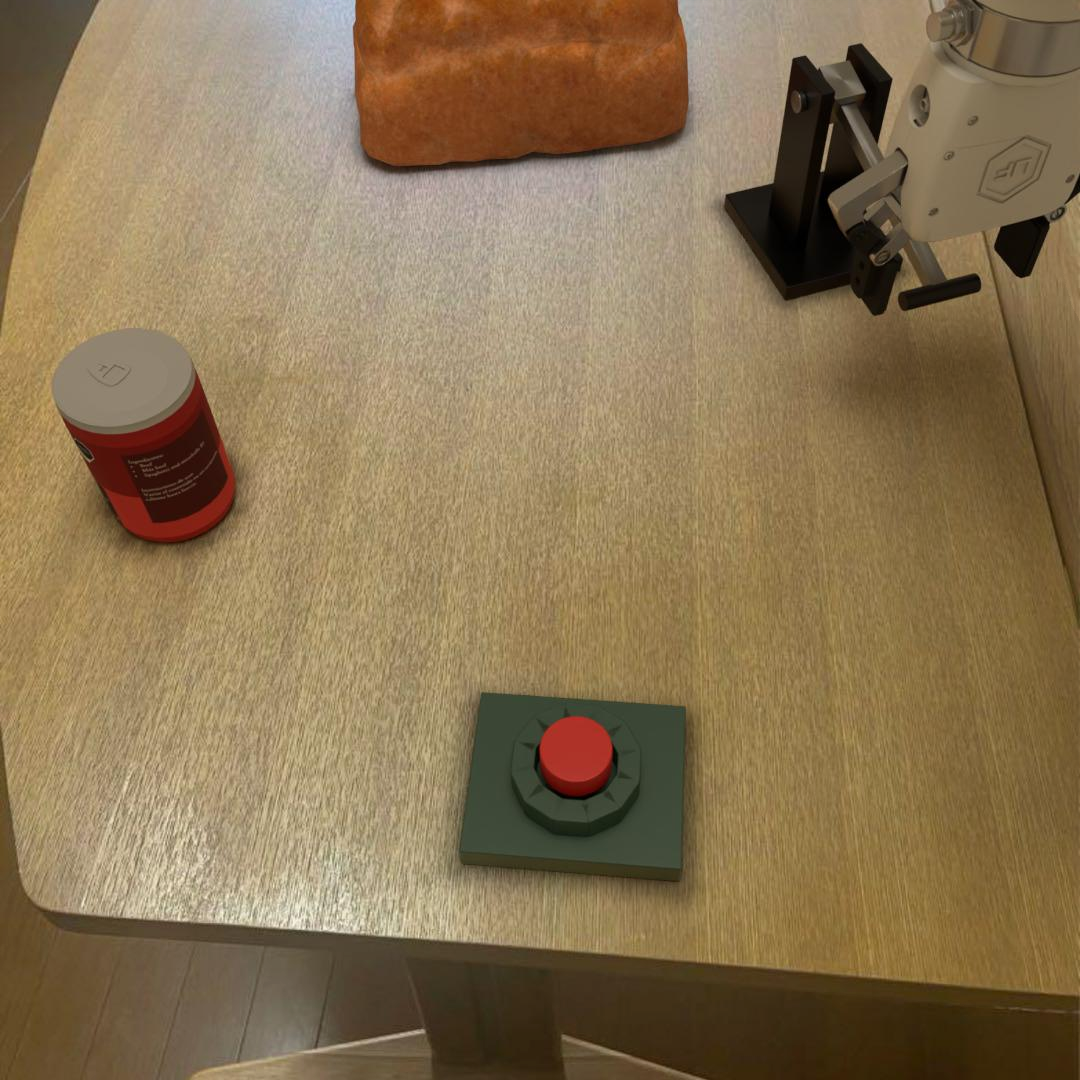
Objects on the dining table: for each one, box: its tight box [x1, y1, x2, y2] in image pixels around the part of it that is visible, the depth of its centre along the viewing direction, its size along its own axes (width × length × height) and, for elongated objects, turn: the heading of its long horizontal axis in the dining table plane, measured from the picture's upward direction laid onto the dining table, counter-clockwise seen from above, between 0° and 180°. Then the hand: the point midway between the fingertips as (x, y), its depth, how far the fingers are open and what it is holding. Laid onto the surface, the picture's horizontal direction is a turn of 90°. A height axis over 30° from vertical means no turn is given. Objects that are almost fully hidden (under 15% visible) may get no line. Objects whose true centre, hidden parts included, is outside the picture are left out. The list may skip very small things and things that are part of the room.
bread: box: [352, 0, 690, 167], centre depth 92 cm, size 14×26×16 cm, turn 97°
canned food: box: [51, 327, 236, 543], centre depth 71 cm, size 8×8×11 cm
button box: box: [458, 691, 687, 882], centre depth 61 cm, size 11×9×4 cm
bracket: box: [723, 42, 904, 301], centre depth 82 cm, size 11×9×14 cm
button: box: [540, 716, 613, 796], centre depth 59 cm, size 4×4×2 cm
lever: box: [817, 60, 982, 312], centre depth 75 cm, size 18×5×2 cm, turn 18°
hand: (939, 281), depth 72 cm, fingers open, 9 cm apart
